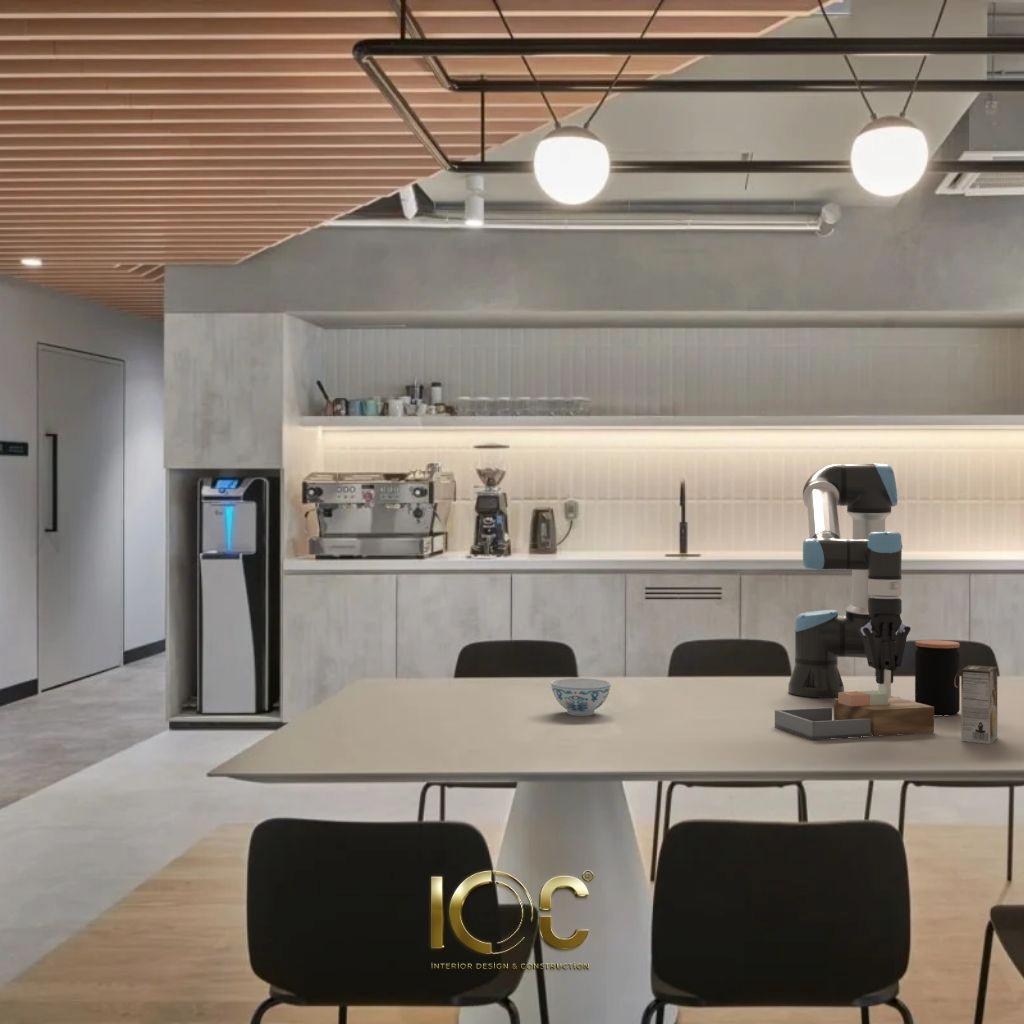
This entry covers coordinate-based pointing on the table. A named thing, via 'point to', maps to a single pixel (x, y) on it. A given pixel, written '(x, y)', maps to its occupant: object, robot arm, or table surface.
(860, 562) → the robot arm
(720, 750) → the table surface
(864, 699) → the terracotta tile
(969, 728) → the coffee box
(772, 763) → the table surface
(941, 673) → the coffee jar
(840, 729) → the tray
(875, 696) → the sage tile
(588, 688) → the chinaware
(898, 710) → the walnut board
